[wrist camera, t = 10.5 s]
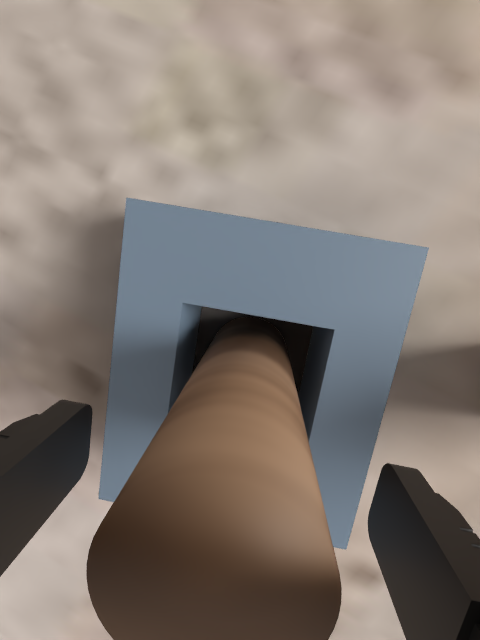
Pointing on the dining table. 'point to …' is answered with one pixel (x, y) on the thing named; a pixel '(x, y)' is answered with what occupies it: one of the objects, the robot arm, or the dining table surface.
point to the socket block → (265, 301)
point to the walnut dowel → (222, 511)
